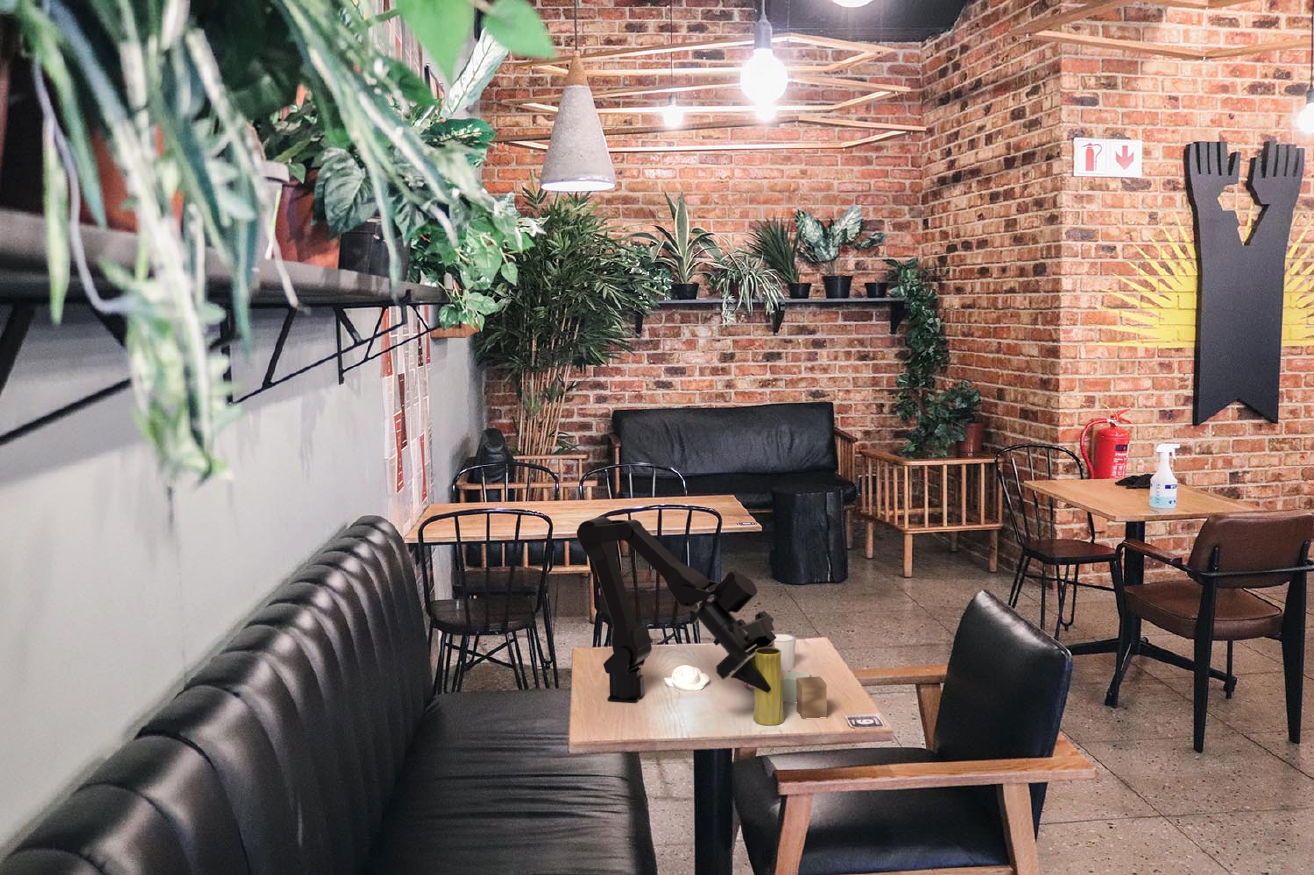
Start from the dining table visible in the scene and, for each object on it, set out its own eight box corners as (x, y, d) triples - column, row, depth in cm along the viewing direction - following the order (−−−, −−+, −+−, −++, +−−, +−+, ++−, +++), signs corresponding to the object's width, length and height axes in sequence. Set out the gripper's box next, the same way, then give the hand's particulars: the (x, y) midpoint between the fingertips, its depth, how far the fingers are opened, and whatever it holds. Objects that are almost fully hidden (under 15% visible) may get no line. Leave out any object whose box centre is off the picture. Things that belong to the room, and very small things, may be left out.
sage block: (782, 701, 226) (781, 678, 225) (788, 693, 230) (788, 671, 230) (805, 704, 224) (804, 680, 223) (811, 696, 228) (811, 673, 228)
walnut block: (802, 719, 214) (802, 685, 214) (796, 711, 219) (796, 677, 219) (826, 718, 215) (826, 684, 214) (820, 709, 220) (820, 676, 219)
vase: (759, 727, 211) (759, 656, 209) (749, 716, 216) (748, 647, 215) (788, 723, 212) (788, 653, 211) (777, 713, 218) (776, 645, 217)
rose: (703, 658, 243) (713, 671, 233) (704, 677, 243) (714, 691, 234) (660, 661, 241) (668, 675, 231) (660, 680, 241) (669, 694, 232)
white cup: (761, 665, 250) (760, 636, 250) (786, 661, 253) (786, 632, 252) (776, 673, 244) (776, 643, 243) (802, 668, 247) (801, 639, 246)
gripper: (729, 612, 206) (784, 676, 202) (766, 591, 222) (817, 649, 218) (693, 647, 210) (746, 710, 206) (732, 624, 227) (782, 682, 222)
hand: (774, 686), depth 213 cm, fingers closed on vase, 5 cm apart
